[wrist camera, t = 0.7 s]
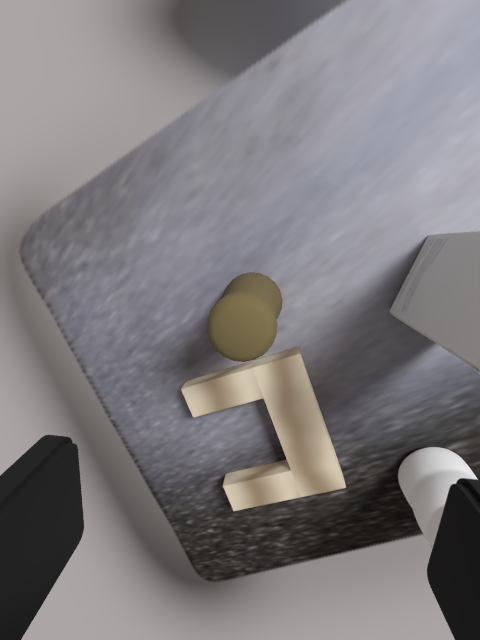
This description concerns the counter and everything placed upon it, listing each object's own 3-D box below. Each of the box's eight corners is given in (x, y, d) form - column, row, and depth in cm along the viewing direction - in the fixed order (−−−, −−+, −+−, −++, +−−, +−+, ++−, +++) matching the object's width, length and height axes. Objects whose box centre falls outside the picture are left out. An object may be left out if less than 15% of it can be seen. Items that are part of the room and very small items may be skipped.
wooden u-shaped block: (299, 346, 34) (300, 353, 32) (342, 474, 37) (346, 487, 35) (186, 380, 36) (181, 389, 34) (236, 497, 39) (233, 511, 38)
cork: (262, 341, 34) (254, 388, 24) (212, 311, 34) (182, 346, 23) (293, 292, 32) (300, 319, 22) (241, 261, 32) (223, 273, 22)
